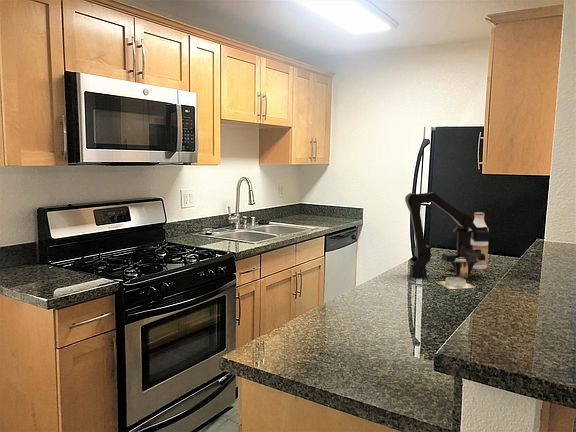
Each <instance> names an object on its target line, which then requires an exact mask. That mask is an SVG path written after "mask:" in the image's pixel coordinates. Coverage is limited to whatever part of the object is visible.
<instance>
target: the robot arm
mask: <svg viewBox="0 0 576 432" xmlns="http://www.w3.org/2000/svg"><path fill="white" fill-rule="evenodd" d="M404 200H405V201H404V202H405V204H406V207H407V209H408V212H409V213H410V218H411V225H412V230H413V236H414V243H415V244H414V246H415V247H414V255H413V256H412V257H410V259H409V262H410V264H409V277H411V279H424V278H427V273H428V272H427V264H428V263H429V262H430V261H431V257H432V256H433V255H432V253H431V246H429V245H428V244H426V241H425V236H424V235H425V234H424V230H423V224H422V223H423V222H422V217H421V216H422V215H421V208H422V204H425V203H430V202H431V203H433V204H434V205H435V206H437V207H438V208H440V210H442V211H444V213H447V214H448V215H449V217H451V218H452V219H453V221H454V222H455V223H456V224H457V226H456V227H455V228H453V229H452V231H453V232H454V233H457V238H456V241H457V242H456V243H455V246H456V251H455V254H454V253H449V252H448V253H442V254H441V260H442V261H444V262H448V263H451V267H452V266H453V270H454V272H455V275H456V277H458V275H459V264H460V262H458V259H466V261H467V262H469V265H468V276H470V274H471V271H472V270H473V269H472V267H473V266H474V264H475V263H477V262H479V261H483V260H486V256H485V255H484V254H482V253H481V250H480V249H476V250H473V248H472V247H473V246H472V245H471V239H472V240H473V241H474V242H488V243H489V241H490V237H491V236H490V231H489V232H488V230H489V227H488V226H487V227H476V226H475V224H474V223H473V221H474V219H473V217H472V216H471V215H470V214H467V213H465V212H462V211H461V210H459V209H457V208H455V207H454V206H453V205H451V204H450V203H449V202H447V201H446V200H444V199H443V198H442V197H440V196H439V195H438V194H437V193H436V192H432V191H429V192H423V193H415V192H414V193H413V192H409V193H407V195H405V198H404ZM459 226H460V227H461V228H460V227H459ZM469 229H471V230H469ZM477 258H478V260H479V261H477Z"/></svg>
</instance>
